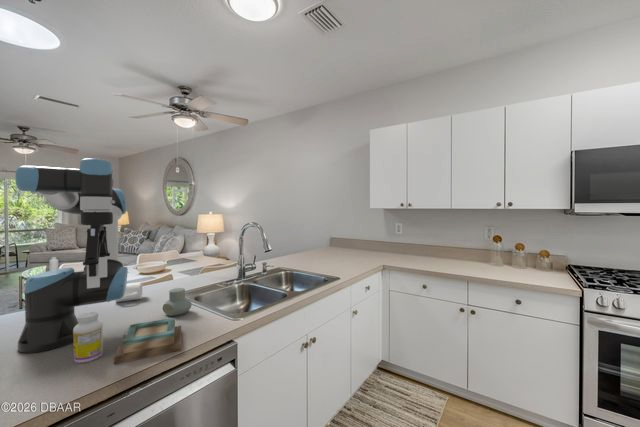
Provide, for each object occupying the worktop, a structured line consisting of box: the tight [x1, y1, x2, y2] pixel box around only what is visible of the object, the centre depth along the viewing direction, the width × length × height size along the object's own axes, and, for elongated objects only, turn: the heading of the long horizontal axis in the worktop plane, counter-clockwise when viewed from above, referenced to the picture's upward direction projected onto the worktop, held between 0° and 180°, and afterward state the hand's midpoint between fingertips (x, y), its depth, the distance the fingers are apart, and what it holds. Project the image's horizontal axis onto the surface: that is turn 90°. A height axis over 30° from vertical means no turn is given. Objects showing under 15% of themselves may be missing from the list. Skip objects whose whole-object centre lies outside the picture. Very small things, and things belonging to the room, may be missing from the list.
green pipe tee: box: [162, 287, 193, 317], centre depth 116 cm, size 11×8×10 cm
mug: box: [114, 282, 143, 303], centre depth 131 cm, size 12×10×8 cm
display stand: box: [113, 317, 182, 365], centre depth 89 cm, size 17×15×6 cm
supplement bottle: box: [72, 311, 104, 364], centre depth 82 cm, size 7×7×13 cm
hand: (98, 282), depth 83 cm, fingers open, 13 cm apart
